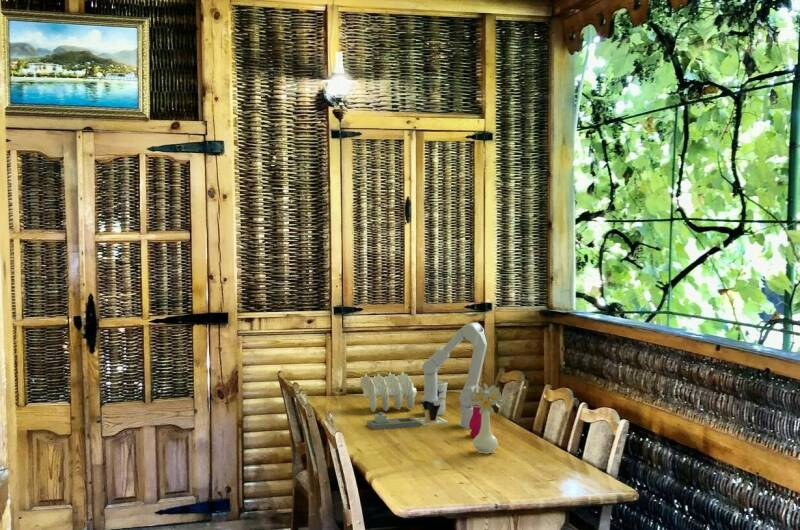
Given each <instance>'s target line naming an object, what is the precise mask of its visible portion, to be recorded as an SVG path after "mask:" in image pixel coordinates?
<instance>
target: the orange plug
mask: <svg viewBox="0 0 800 530" xmlns="http://www.w3.org/2000/svg"><path fill="white" fill-rule="evenodd" d="M437 417H438V416H436V420H434V421H431V420H430V414H429V410H425V414H424V418H425V422H427V423H434V422H437Z"/></svg>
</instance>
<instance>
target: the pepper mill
mask: <svg viewBox="0 0 800 530" xmlns="http://www.w3.org/2000/svg"><path fill="white" fill-rule="evenodd" d="M476 388H477V387H476ZM479 389H480V386H479V387H478V390H479ZM478 392H479V391H478ZM478 394H479V393H478ZM471 399H472V398H471ZM472 401H473V400H472ZM472 406H473V415H472V417H471V420H470V422H469V427H470V432H469V433H470V435H469V436H470V437H471V438H475V437H476V436H477V435H478V434H479V432H480V429H481V417H482V414H480V408H481V406H478V405H476V404H475V405H472Z"/></svg>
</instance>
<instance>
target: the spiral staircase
mask: <svg viewBox="0 0 800 530" xmlns="http://www.w3.org/2000/svg"><path fill="white" fill-rule="evenodd" d="M395 374H396V373H392V372H389V373H388V375H387V376H386V375H385V378H384V376H382V375H380V373H377V375H374V376H373V379H372V378H371V376H368V375H367V373H365V374H364V376H361V377H360V382H359V385H360V387H361V389H362V391H363V397H364V398H368V399H369V401H368V402H369V405H368V406H369V407H370V412H372V413H375V412H376V410H377V407H378V406H377V405H378V399H377V398H378V397H379V398H381V406H382V410H383V411H384V412H385V411H386V412H385V413H387V411H388V410H389V409H390V402H391V401H390V397H393V399H394V407H395V409H398V410H401V408H402V406H403V397H405V398H406V401H405V404H406V406H407V409H408V408H409V409H410V410H413V408H414V406H415V401H416V396H417V392H418V391H417V388H416V387H414V382H412V380H411V378H410V376H409V374H407V373H404V371H402V372H401V374H398V375H395ZM409 409H408V410H409Z"/></svg>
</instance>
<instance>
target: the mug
mask: <svg viewBox="0 0 800 530" xmlns="http://www.w3.org/2000/svg"><path fill="white" fill-rule="evenodd" d="M448 383H449V382H447V381H444V380H437V397H444V398H445V399H446V397H447V388H448Z"/></svg>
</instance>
